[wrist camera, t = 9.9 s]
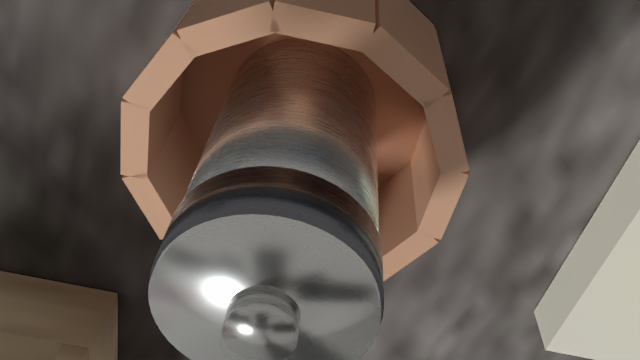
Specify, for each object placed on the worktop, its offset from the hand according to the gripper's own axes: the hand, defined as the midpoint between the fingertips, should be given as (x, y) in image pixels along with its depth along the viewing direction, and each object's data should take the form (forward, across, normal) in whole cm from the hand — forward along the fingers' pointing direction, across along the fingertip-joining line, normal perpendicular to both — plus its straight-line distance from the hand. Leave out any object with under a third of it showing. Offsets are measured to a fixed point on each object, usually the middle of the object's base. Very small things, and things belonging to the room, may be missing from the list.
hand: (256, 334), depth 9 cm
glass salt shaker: (+8, 0, 0) cm, 8 cm away
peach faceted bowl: (+8, 0, 0) cm, 8 cm away
